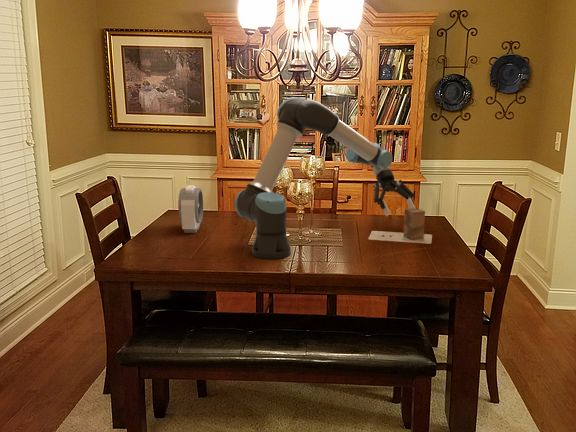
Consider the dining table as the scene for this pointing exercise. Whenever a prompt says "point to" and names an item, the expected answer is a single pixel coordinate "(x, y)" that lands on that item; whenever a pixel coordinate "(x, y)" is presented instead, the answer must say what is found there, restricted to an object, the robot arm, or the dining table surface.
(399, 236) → the board
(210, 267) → the dining table surface
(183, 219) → the alarm clock
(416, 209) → the walnut block
